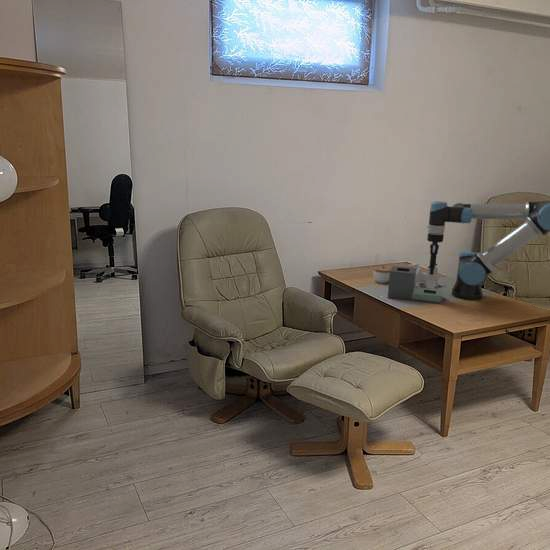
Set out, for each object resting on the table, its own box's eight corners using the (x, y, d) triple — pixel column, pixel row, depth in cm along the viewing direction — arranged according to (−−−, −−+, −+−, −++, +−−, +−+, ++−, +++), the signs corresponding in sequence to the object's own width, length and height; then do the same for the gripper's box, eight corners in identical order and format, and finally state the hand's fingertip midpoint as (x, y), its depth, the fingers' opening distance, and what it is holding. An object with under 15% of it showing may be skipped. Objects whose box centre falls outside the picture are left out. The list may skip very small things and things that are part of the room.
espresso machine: (442, 297, 277) (444, 271, 273) (441, 304, 266) (443, 276, 262) (390, 291, 285) (392, 265, 281) (387, 297, 274) (389, 271, 270)
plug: (435, 286, 273) (438, 265, 270) (435, 288, 269) (437, 267, 266) (426, 285, 274) (428, 264, 271) (425, 287, 270) (428, 266, 268)
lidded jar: (368, 280, 305) (369, 264, 302) (381, 278, 311) (382, 262, 308) (382, 285, 296) (384, 268, 294) (395, 282, 303) (397, 266, 300)
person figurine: (430, 263, 304) (409, 261, 293) (447, 272, 295) (426, 271, 284) (421, 283, 308) (400, 282, 297) (438, 294, 299) (417, 293, 288)
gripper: (429, 229, 274) (424, 274, 280) (426, 235, 258) (422, 282, 264) (444, 231, 271) (439, 276, 277) (443, 237, 256) (438, 284, 262)
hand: (431, 279), depth 271 cm, fingers closed on plug, 4 cm apart
